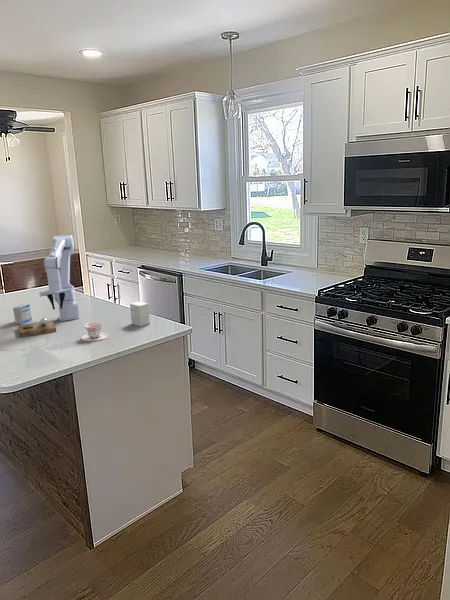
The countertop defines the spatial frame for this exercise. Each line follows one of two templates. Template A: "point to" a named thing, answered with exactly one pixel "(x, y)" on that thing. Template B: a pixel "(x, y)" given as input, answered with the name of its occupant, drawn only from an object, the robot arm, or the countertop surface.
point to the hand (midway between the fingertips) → (57, 308)
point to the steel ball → (43, 321)
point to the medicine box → (22, 314)
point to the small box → (139, 313)
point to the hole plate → (36, 329)
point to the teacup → (94, 332)
